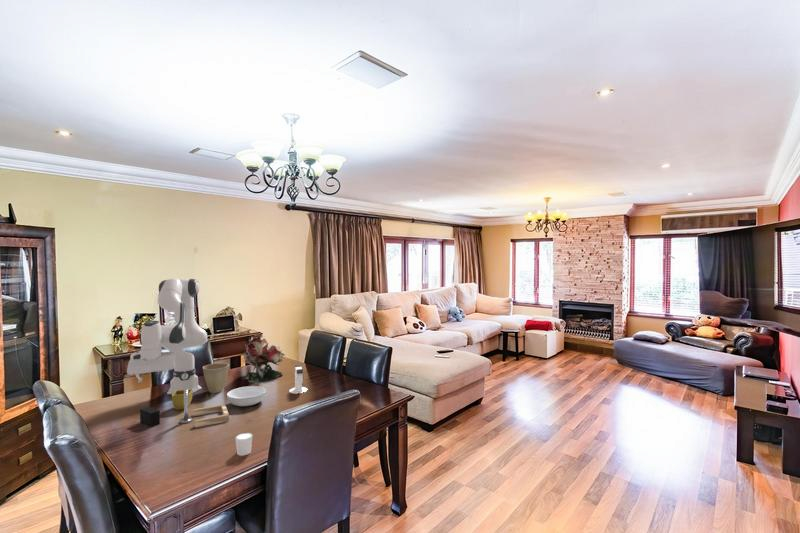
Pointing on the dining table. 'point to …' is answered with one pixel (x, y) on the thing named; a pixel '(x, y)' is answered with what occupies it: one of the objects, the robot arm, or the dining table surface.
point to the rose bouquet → (262, 359)
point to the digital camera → (150, 416)
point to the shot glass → (243, 443)
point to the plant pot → (215, 376)
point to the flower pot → (181, 398)
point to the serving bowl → (246, 395)
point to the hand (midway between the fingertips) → (151, 380)
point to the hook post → (186, 410)
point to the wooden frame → (211, 419)
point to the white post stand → (298, 381)
